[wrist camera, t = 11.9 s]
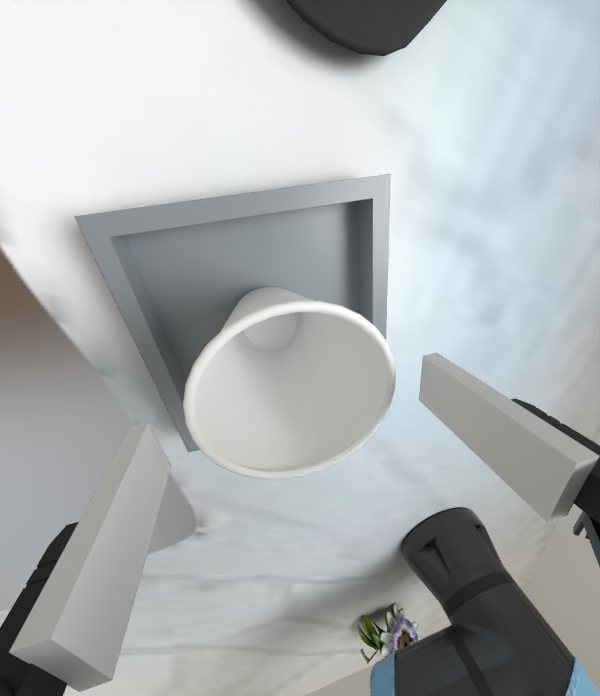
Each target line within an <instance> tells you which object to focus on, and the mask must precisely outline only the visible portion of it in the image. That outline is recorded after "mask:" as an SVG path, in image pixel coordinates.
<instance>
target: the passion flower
mask: <svg viewBox="0 0 600 696" xmlns="http://www.w3.org/2000/svg"><path fill="white" fill-rule="evenodd" d="M391 610H392V615H393V617H392V615H391V613H389V612H388V611H387V612H386V614H385V621H386V625H387V632H385V631H383V630H382V629H380V628H379V627H378V626H377V625H376V624H375V623H374V622H373V623H374V624H375V626H376V627H377V629H378V631H379V634H378V633H377V632H376V630H375V629H374V627H373V625H372V624H371V623H370V621H369V620H368V618H367V617H366V616H363V615H362V616H361V618H362V622H363V626H364V629H365V631H366V633H367V635H368V636H369V637H370V638H368V637H367V635H365V633H364V632H363V631H362V630H361V629H360V627H359V625H358V628H359V634H360V636H361V638H362V640H363V641H364V642H365V643H366V644H367V645H369V646H370V647H372V648H374V649H375V650H377V651H378V650H379V649H380V654H381V656H382V657H387V656H388V655H390V654H392V652H393V650H396V649H397V650H400V649H402V648H404V647H406V646H409V645H411V644H413V643H415V642H416V641H418V635H417V633H416V630H417V628H418V625H419V624H418V623H417V622H413V623H410V622H409V620H407V619H405V618H404V612H403V609H402V608H401V609H400V610H399V611H398V610H397V606H396V603H394V604H393V605H392V608H391ZM379 635H380V636H379ZM377 651H376V652H377ZM376 652H375V653H374V654H373V656H372V657H371V658H370V659H368V658H367V657H366V655H365V654H364V652H363V649H361V654H362V655H363V657H364V659H365V660H366V661H367V663H369V661H370V660H371V659H372V658H373V657H374V655H375V654H376Z"/></svg>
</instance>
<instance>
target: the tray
mask: <svg viewBox="0 0 600 696" xmlns="http://www.w3.org/2000/svg"><path fill="white" fill-rule="evenodd" d="M390 179H391V174H385V175H378V176H371V177H363V178H356V179H348V180H341V181H334V182H326V183H319V184H311V185H304V186H297V187H289V188H282V189H274V190H267V191H260V192H252V193H245V194H237V195H230V196H223V197H215V198H208V199H200V200H193V201H186V202H178V203H171V204H163V205H156V206H149V207H141V208H134V209H126V210H119V211H112V212H104V213H97V214H90V215H82V216H75V219H76V221H77V223H78V225H79V227H80V229H81V231H82V233H83V236H84V238H85V240H86V242H87V244H88V246H89V248H90V250H91V252H92V254H93V256H94V258H95V260H96V262H97V264H98V267H99V269H100V271H101V273H102V275H103V277H104V279H105V281H106V283H107V285H108V287H109V289H110V291H111V293H112V296H113V298H114V300H115V302H116V304H117V306H118V308H119V310H120V312H121V314H122V316H123V318H124V320H125V322H126V324H127V327H128V329H129V331H130V333H131V335H132V337H133V339H134V341H135V343H136V345H137V347H138V349H139V351H140V353H141V356H142V358H143V360H144V362H145V364H146V366H147V368H148V370H149V372H150V374H151V376H152V378H153V380H154V382H155V384H156V387H157V389H158V391H159V393H160V395H161V397H162V399H163V401H164V403H165V405H166V407H167V409H168V411H169V413H170V416H171V418H172V420H173V422H174V424H175V426H176V428H177V430H178V432H179V434H180V436H181V438H182V440H183V442H184V444H185V447H186V449H187V451H188V453H189V452H193V451H196V450H200V448H199V447H198V446H197V444H196V443H195V442H194V441H193V439H192V437H191V434H190V432H189V430H188V427H187V425H186V422H185V415H184V408H183V401H184V393H185V385H186V382H187V379H188V377H189V374H190V372H191V369H192V366H193V364H194V363H195V361H196V360H197V358H198V357H199V355H200V354H201V352H202V351H203V349H204V348H205V346H206V345H207V344H208V343H209V342H210V341H211V340H212V339H213V338H215V337H216V336H217V335H218V334H219V333H220V331H221V330H222V328H223V326H224V325H225V323H226V322H227V320H228V318H229V316H230V315H231V313H232V311H233V310H234V308H235V307H236V305H237V304H238V302H239V301H240V300H241V299H242V298H243V297H244V296H245V295H246V294H248V293H249V292H251V291H253V290H256V289H258V288H263V287H278V288H282V289H285V290H288V291H290V292H293V293H295V294H298V295H300V296H303V297H305V298H308V299H311V300H313V301H322V302H327V303H331V304H336V305H340V306H343V307H345V308H347V309H350V310H352V311H354V312H356V313H358V314H360V315H362V316H363V317H364V318H365V319H367V320H368V321H369V322H370V323H372V324H373V325H374V326H375V327H376V328H377V329H378V331H379V332H380V333H381V335H382V336H383V337H384V339H385V340H386V318H387V283H388V248H389V214H390Z"/></svg>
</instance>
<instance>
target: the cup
mask: <svg viewBox="0 0 600 696" xmlns="http://www.w3.org/2000/svg"><path fill="white" fill-rule="evenodd" d="M395 378H396V372H395V365H394V359H393V355H392V353H391V351H390V348H389V346H388V343H387V341H386V340H385V339H384V337H383V336H382V335H381V333H380V332H379V331H378V329H377V328H376V327H375V326H374V325H373V324H372V323H370V322H369V321H368V320H367V319H365V318H364V317H363V316H362V315H360V314H358V313H356V312H354V311H352V310H350V309H347V308H345V307H343V306H340V305H336V304H331V303H327V302H322V301H313V300H311V299H308V298H305V297H303V296H300V295H298V294H295V293H293V292H290V291H288V290H285V289H282V288H278V287H263V288H258V289H256V290H253V291H251V292H249V293H248V294H246V295H245V296H244V297H243V298H242V299H241V300H240V301H239V302H238V304H237V305H236V307H235V308H234V310H233V311H232V313H231V315H230V316H229V318H228V320H227V322H226V323H225V325H224V326H223V328H222V330H221V331H220V333H219V334H218V335H217V336H216V337H215V338H213V339H212V340H211V341H210V342H209V343H208V344H207V345H206V346H205V348H204V349H203V351H202V352H201V354H200V355H199V357H198V358H197V360H196V361H195V363H194V364H193V366H192V369H191V372H190V374H189V377H188V379H187V382H186V385H185V393H184V401H183V408H184V415H185V422H186V425H187V427H188V430H189V432H190V434H191V437H192V439H193V441H194V442H195V443H196V444H197V446H198V447H199V448H200V450H201V451H202V452H203V453H204V454H205V455H206V456H207V457H208V458H210V459H211V460H212V461H213V462H215V463H216V464H217V465H219V466H221V467H223V468H225V469H227V470H229V471H231V472H233V473H237V474H240V475H243V476H247V477H252V478H259V479H287V478H294V477H300V476H304V475H307V474H311V473H314V472H318V471H320V470H322V469H325V468H327V467H329V466H332V465H334V464H335V463H337V462H339V461H340V460H342V459H344V458H346V457H347V456H349V455H350V454H351V453H353V452H354V451H355V450H356V449H358V448H359V447H360V446H362V445H363V443H364V442H365V441H366V440H367V439H368V438H369V437H370V436H371V435H372V434H373V433H374V432H375V430H376V429H377V428H378V426H379V425H380V423H381V422H382V421H383V419H384V417H385V415H386V413H387V411H388V409H389V407H390V404H391V401H392V397H393V394H394V390H395Z"/></svg>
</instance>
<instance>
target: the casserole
mask: <svg viewBox="0 0 600 696" xmlns="http://www.w3.org/2000/svg"><path fill="white" fill-rule="evenodd" d="M286 1H287V2H288V3H289V4H290V5H291V7H292V8H293V9H294V10H295V11H296V12H297V13H298V15H299V16H300V17H301V18H302V19H303V20H305V21H306V22H307V23H308V24H310V25H311V26H312V27H314V28H315V29H316V30H318V31H319V32H320V33H322V34H323V35H324V36H326V37H327V38H328V39H330V40H331V41H332V42H335V43H337V44H339V45H341V46H344V47H346V48H348V49H350V50H353V51H355V52H357V53H360V54H369V55H378V56H385V55H388V54H390V53H392V52H395V51H397V50H400V49H402V48H405V47H406V46H407V45H408V44H409V43H410V42H411V41H412V40H413V39H414V38H415V37H416V36H417V34H418V33H419V32H420V31H421V30H422V29H423V28H424V27H425V26H426V25H427V24H428V22H429V21H430V20H431V19H432V18H433V16H434V15H435V14H436V13H437V12H438V10H439V9H440V8H441V7H442V5H443V4H444V3H445V2H446V1H447V0H286Z"/></svg>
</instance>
